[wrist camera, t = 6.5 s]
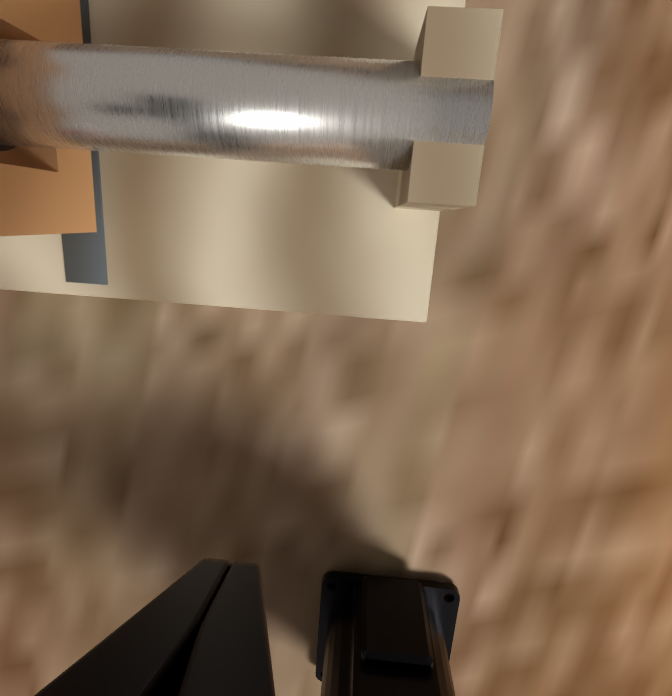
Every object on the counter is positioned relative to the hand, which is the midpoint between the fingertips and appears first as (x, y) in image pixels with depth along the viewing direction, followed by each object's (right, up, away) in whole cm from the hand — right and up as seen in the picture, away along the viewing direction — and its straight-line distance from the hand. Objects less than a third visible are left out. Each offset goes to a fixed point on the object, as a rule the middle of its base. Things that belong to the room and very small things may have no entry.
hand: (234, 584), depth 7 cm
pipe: (-5, +10, +6) cm, 13 cm away
